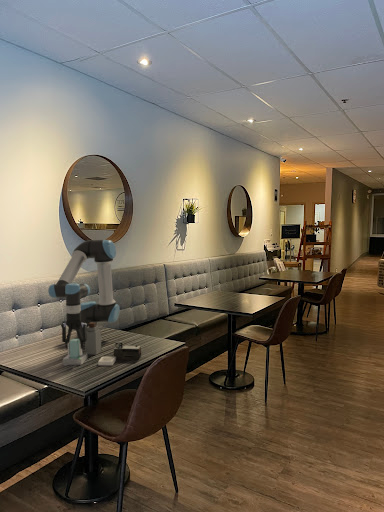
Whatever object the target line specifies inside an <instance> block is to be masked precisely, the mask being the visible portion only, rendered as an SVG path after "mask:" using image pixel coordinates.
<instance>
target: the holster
mask: <svg viewBox="0 0 384 512" xmlns="http://www.w3.org/2000/svg"><path fill="white" fill-rule="evenodd" d="M115 362H116V357H114V356H101V357H100V358H99V360H98V362H97V363H98V364H97V365H98V366H113V365H114V364H115Z"/></svg>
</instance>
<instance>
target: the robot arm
mask: <svg viewBox="0 0 384 512" xmlns="http://www.w3.org/2000/svg"><path fill="white" fill-rule="evenodd" d="M116 253H117V251H116V246H115V243H114V242H113V241H112V240H110V239H88V240H85V241H83V242H81V243H79V244H78V245H77V246H76V247H75V248H74V249H73V251H72V253H71V258H70V260H69V261H68V263H67V264H66V266H65V269H64V270H63V272H62V274H60V277H59V278H58V280H57V282H56V283H54V284H51V285H49V287H48V290H47V291H48V292H47V293H48V295H49V297H50V298H52V299H53V298H54V299H63V298H64V299H65V312H66V314H65V317H66V322H63V323H61V325H60V326H61V330H62V331H61V341H62V343H65V350H67V355H70V340H71V337H72V332H73V331H74V330H75V332H76V339H79V340H80V343H79V355H82V353H83V352H82V351H83V349H85V342H86V341H87V332H86V331H87V329H86V328H87V327H88V326H89V323H90V322H96V326H98V323H115V322H117V320H118V319H119V314H120V305H119V304H117V301H116V300H115V299H114V291H113V290H114V289H113V275H112V262H114V259H115V257H116V255H117V254H116ZM88 259H93V260H94V263H96V266H97V267H96V268H97V279H98V294H99V300H98V302H97V301H94V300H93V301H87V302H83V303H81V299H83V298H86V297H88V296H89V294H91V287H90V285H88V284H87V283H80V284H79V283H76V282H74V280H75V278H76V276H77V274H78V273H79V272H80V269H81V268H82V265H83V264H84V263H85V262H86V261H87V260H88ZM67 327H68V330H67Z"/></svg>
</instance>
